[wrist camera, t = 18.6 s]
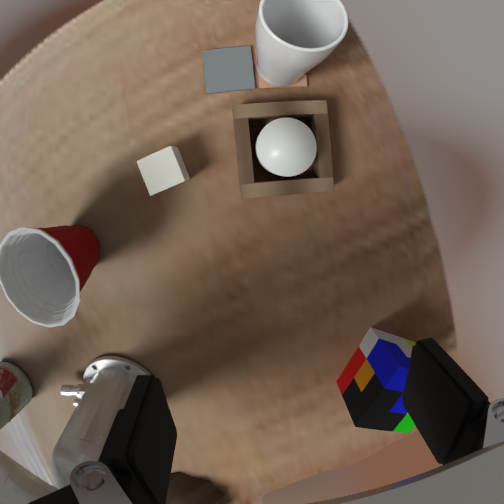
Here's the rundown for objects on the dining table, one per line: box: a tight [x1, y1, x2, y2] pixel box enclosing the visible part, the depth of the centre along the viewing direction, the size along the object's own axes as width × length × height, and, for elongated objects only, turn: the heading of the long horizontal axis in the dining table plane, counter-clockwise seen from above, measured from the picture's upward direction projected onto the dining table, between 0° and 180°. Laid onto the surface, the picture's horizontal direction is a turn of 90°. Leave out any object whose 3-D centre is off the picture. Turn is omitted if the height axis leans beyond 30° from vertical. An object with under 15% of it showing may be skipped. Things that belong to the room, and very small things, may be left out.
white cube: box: [137, 146, 190, 196], centre depth 34 cm, size 4×4×4 cm
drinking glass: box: [255, 0, 349, 87], centre depth 25 cm, size 7×7×15 cm
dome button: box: [255, 118, 317, 177], centre depth 33 cm, size 6×6×4 cm
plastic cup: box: [0, 225, 100, 327], centre depth 32 cm, size 11×11×12 cm
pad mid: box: [203, 46, 255, 94], centre depth 32 cm, size 6×6×1 cm
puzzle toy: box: [336, 327, 416, 433], centre depth 39 cm, size 10×10×10 cm
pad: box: [255, 46, 307, 89], centre depth 33 cm, size 6×6×1 cm
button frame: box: [232, 100, 334, 199], centre depth 34 cm, size 10×10×3 cm
